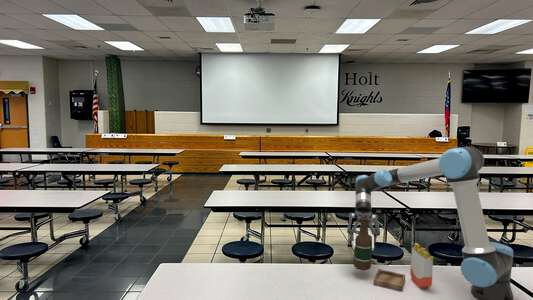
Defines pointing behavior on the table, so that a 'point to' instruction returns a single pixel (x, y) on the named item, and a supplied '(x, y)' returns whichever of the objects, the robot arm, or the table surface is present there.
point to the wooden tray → (389, 280)
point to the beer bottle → (363, 247)
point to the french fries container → (421, 267)
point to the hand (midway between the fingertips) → (363, 248)
